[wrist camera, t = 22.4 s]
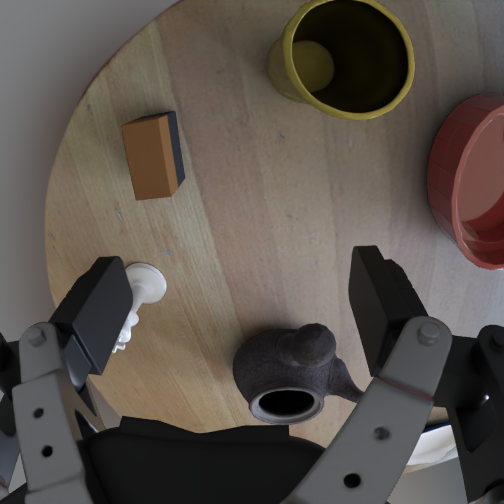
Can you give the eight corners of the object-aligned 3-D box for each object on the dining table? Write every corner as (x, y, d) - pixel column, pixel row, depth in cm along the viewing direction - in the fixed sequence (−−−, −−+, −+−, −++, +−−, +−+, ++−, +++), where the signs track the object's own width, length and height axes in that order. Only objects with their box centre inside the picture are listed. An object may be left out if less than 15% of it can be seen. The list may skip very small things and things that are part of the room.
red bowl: (427, 80, 21) (460, 84, 17) (542, 107, 20) (575, 119, 15) (413, 245, 29) (435, 276, 25) (519, 239, 28) (545, 263, 24)
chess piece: (164, 305, 34) (138, 375, 26) (123, 293, 34) (89, 359, 25) (169, 269, 32) (140, 340, 23) (124, 257, 31) (84, 322, 23)
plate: (370, 462, 58) (371, 472, 56) (418, 419, 48) (421, 431, 46) (434, 454, 60) (436, 462, 58) (484, 412, 50) (487, 421, 47)
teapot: (350, 381, 41) (361, 442, 32) (238, 386, 42) (234, 449, 33) (373, 268, 31) (405, 339, 23) (221, 275, 32) (206, 350, 24)
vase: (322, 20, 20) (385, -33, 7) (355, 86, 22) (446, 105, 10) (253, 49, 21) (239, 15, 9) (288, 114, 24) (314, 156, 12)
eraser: (142, 116, 24) (120, 125, 20) (175, 110, 24) (158, 118, 20) (153, 182, 27) (135, 201, 23) (185, 178, 27) (171, 197, 23)
